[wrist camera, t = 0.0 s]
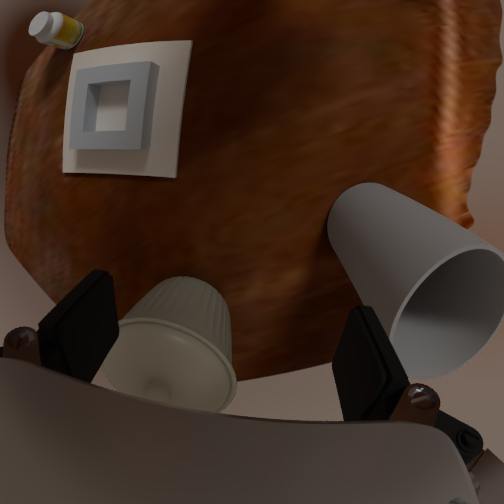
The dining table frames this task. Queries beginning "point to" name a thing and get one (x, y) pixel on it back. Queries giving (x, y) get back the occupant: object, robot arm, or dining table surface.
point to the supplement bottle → (56, 30)
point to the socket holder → (126, 109)
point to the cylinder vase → (419, 277)
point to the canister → (176, 347)
